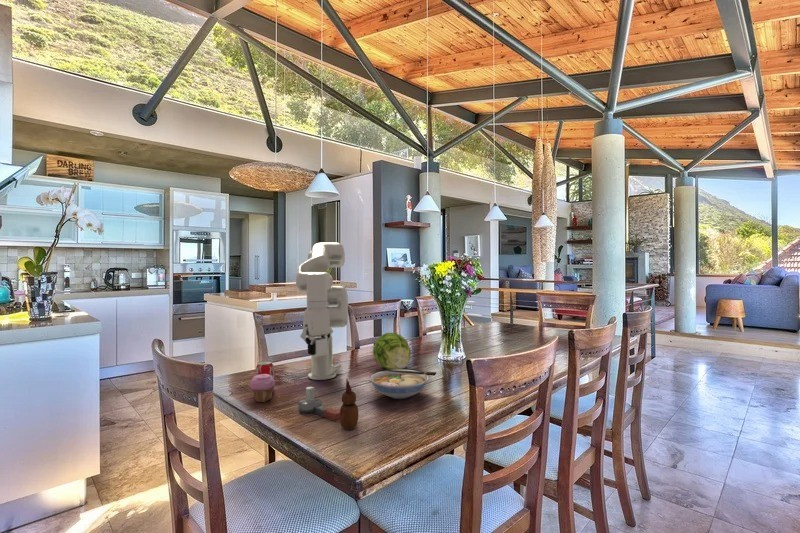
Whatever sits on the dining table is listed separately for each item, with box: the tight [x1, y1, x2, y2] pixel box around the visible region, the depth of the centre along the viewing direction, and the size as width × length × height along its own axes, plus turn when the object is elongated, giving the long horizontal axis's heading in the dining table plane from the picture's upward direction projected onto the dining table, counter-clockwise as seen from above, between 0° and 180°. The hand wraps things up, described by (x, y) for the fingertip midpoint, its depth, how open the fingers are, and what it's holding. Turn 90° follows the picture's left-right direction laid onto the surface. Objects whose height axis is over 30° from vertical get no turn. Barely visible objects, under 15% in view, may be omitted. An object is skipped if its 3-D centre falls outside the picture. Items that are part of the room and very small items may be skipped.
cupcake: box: [249, 374, 276, 403], centre depth 155 cm, size 9×9×10 cm
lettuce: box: [372, 332, 412, 370], centre depth 197 cm, size 17×23×17 cm
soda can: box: [255, 360, 275, 392], centre depth 164 cm, size 7×7×12 cm
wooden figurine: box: [339, 378, 359, 431], centre depth 129 cm, size 7×6×15 cm
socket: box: [307, 337, 327, 357], centre depth 156 cm, size 5×5×6 cm
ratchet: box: [298, 386, 340, 422], centre depth 141 cm, size 8×19×8 cm, turn 50°
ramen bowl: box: [369, 368, 437, 400], centre depth 158 cm, size 25×23×8 cm
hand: (317, 352), depth 156 cm, fingers closed on socket, 5 cm apart
